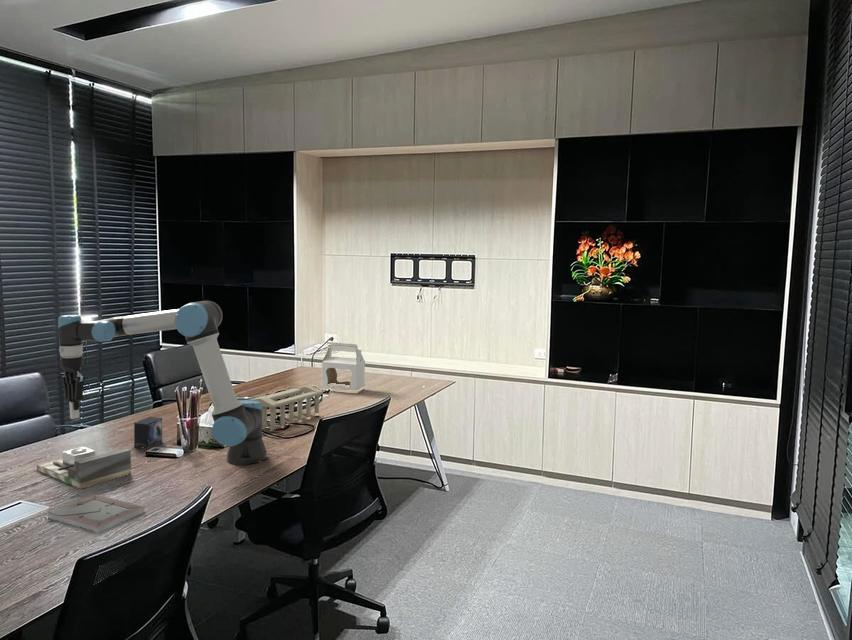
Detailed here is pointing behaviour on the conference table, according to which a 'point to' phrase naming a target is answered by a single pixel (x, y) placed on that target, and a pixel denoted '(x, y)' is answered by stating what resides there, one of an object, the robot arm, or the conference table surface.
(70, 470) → the max marker
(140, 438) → the small box
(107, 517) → the picture frame
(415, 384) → the conference table surface
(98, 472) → the base
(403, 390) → the conference table surface
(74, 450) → the grey dimpled block
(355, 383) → the gable box
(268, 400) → the architectural model
